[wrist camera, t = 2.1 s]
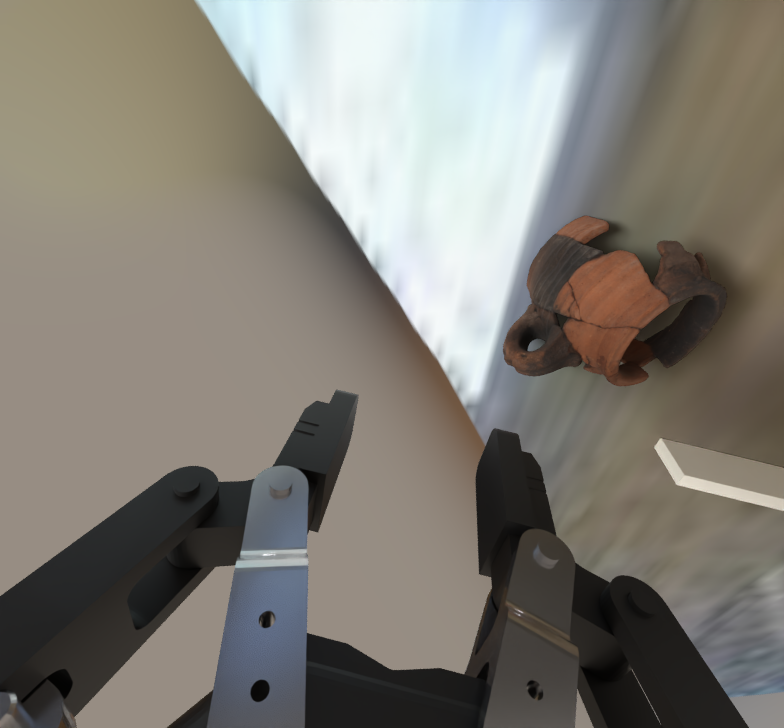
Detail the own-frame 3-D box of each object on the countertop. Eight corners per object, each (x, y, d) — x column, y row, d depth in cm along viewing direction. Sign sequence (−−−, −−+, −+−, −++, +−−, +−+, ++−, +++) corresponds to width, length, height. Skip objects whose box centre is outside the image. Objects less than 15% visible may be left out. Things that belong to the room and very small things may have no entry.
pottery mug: (624, 168, 24) (755, 229, 18) (636, 272, 31) (734, 340, 25) (455, 292, 26) (526, 380, 20) (501, 364, 33) (564, 445, 27)
